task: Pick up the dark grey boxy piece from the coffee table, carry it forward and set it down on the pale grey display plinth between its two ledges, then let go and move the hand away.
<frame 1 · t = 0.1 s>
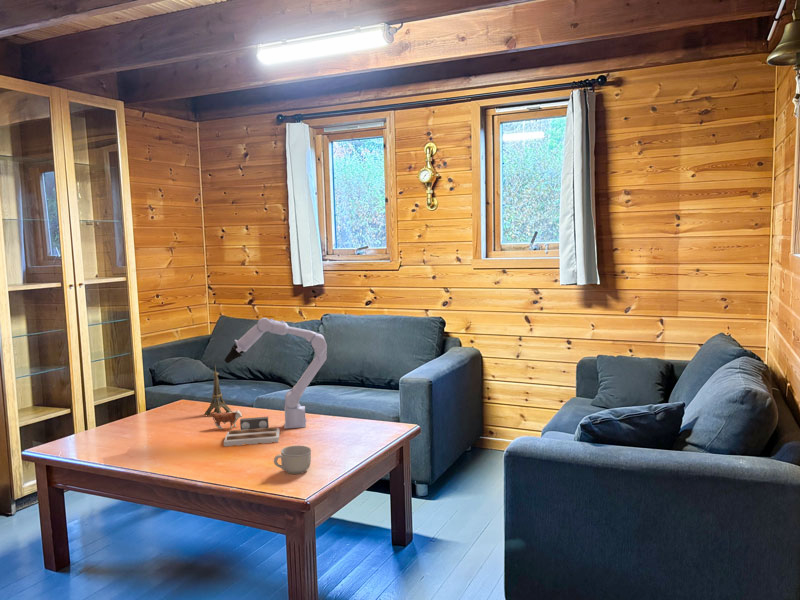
hand: (226, 360, 277), 32 cm above the table, tool tilted 50°, fingers open, 7 cm apart
dark grey boxy piece: (254, 430, 279), on the table
bull figurine: (228, 428, 284), on the table
teacup: (292, 472, 224), on the table
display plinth: (252, 439, 265), on the table
eiffel tower: (218, 414, 310), on the table
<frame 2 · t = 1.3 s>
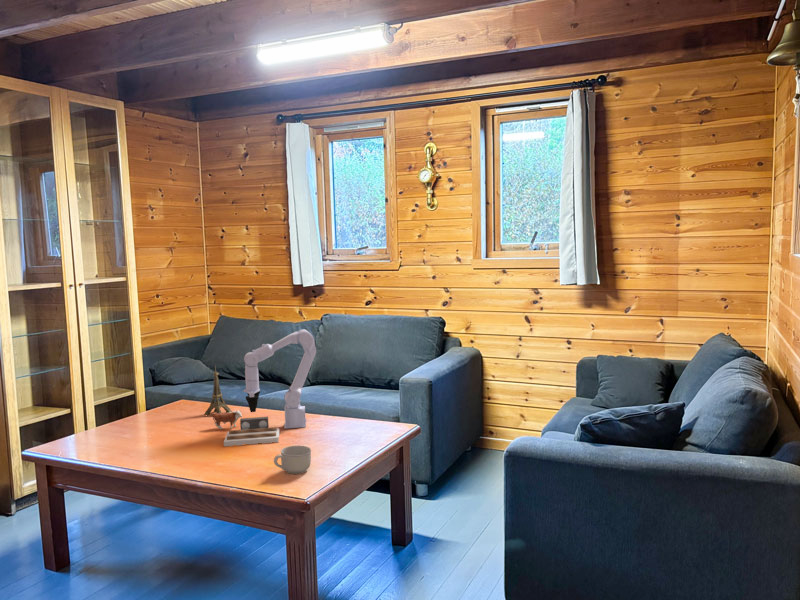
hand: (253, 409, 278), 9 cm above the table, tool pointing down, fingers open, 7 cm apart
nothing on the table moved.
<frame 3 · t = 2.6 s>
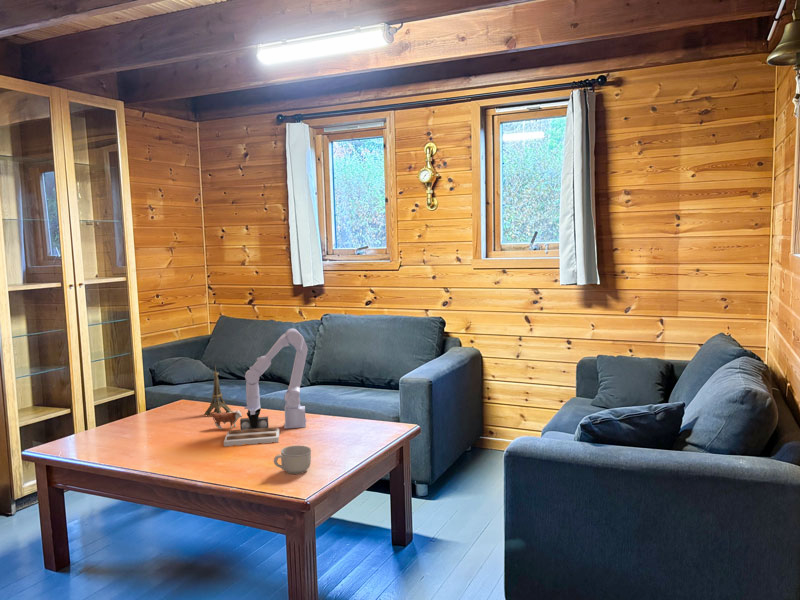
hand: (254, 426, 279), 2 cm above the table, tool pointing down, fingers closed on dark grey boxy piece, 3 cm apart
dark grey boxy piece: (254, 430, 279), on the table, touching gripper
everything else where it was.
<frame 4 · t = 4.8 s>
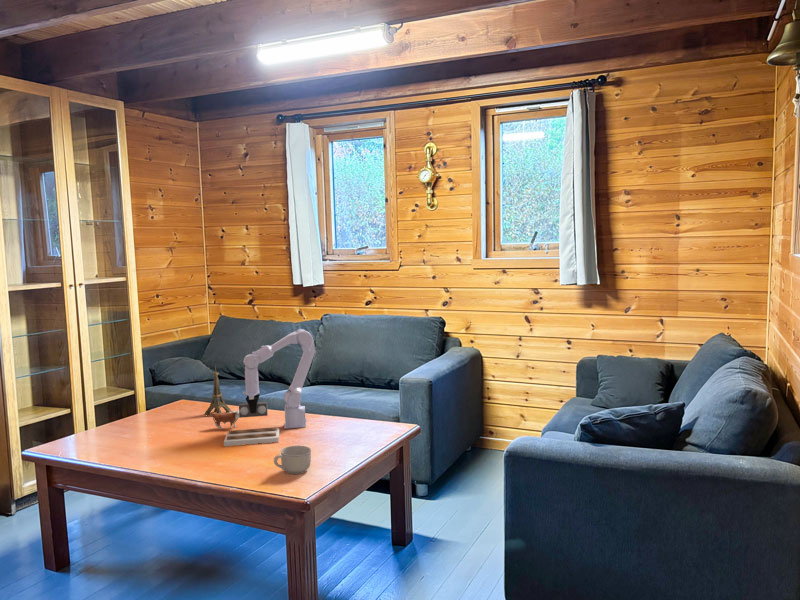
hand: (253, 412, 277), 9 cm above the table, tool pointing down, fingers closed on dark grey boxy piece, 3 cm apart
dark grey boxy piece: (253, 415, 277), point 7 cm above the table, touching gripper
everything else where it was.
when the fingers open (5 cm above the table, at t = 6.7 s): dark grey boxy piece drops 1 cm, resting on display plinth.
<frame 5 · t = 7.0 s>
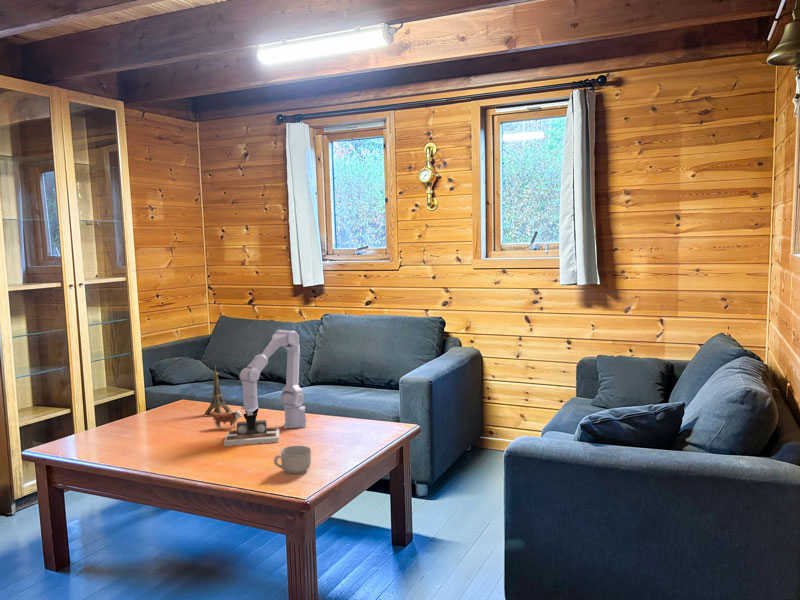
hand: (252, 428, 265), 5 cm above the table, tool pointing down, fingers open, 5 cm apart
dark grey boxy piece: (252, 434, 265), point 2 cm above the table, touching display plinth
everything else where it was.
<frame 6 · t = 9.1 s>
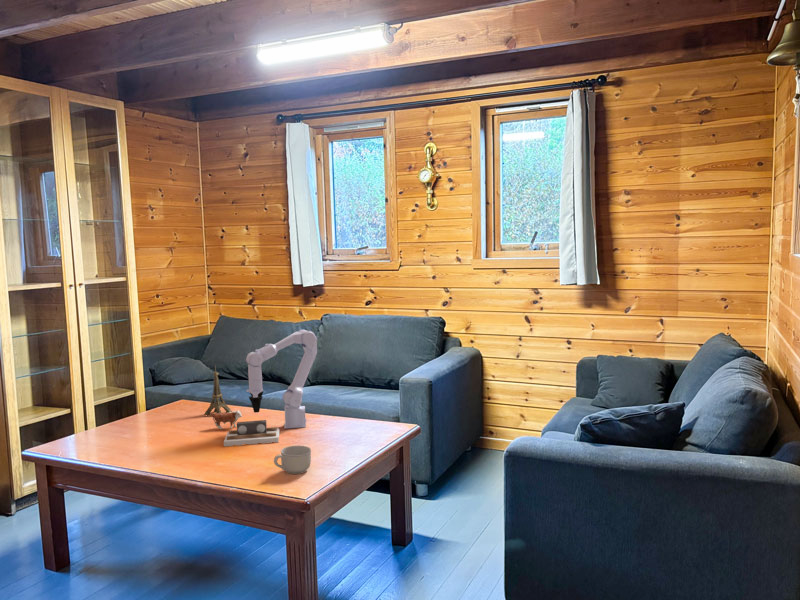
hand: (257, 410, 275), 10 cm above the table, tool pointing down, fingers open, 7 cm apart
nothing on the table moved.
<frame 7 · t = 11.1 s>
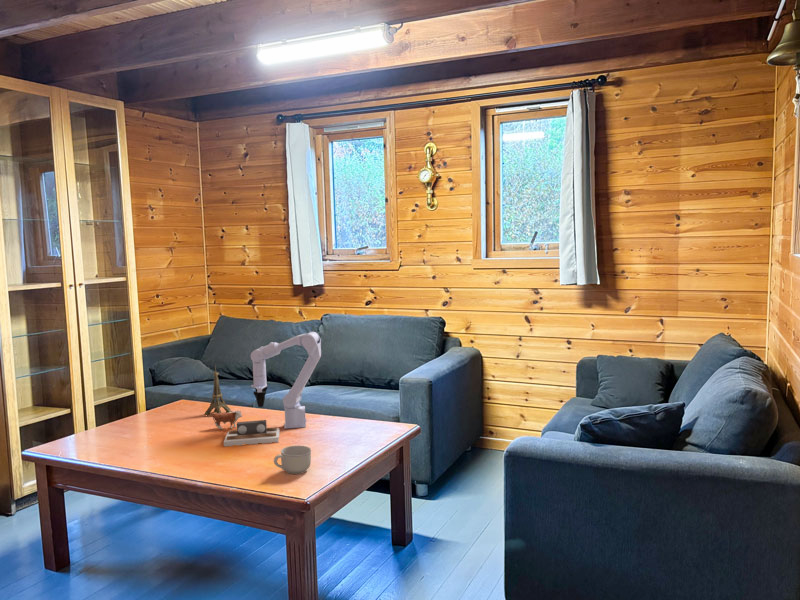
hand: (261, 404, 285), 10 cm above the table, tool pointing down, fingers open, 7 cm apart
nothing on the table moved.
at the end: dark grey boxy piece 0.1 cm off-centre on the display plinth, point 2.0 cm above the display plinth's base; dark grey boxy piece tilted 0°; the gripper is holding nothing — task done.
